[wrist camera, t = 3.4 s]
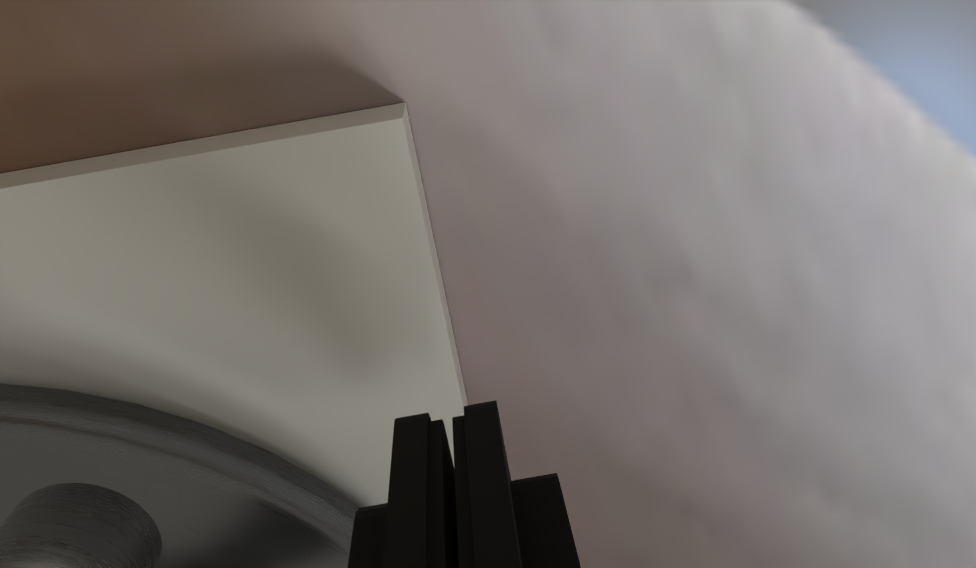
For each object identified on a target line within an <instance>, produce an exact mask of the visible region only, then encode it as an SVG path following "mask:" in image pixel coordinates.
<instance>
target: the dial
mask: <svg viewBox="0 0 976 568" xmlns="http://www.w3.org/2000/svg"><path fill="white" fill-rule="evenodd" d="M358 508H361V507H359V506H358V505H357V504H355V503H354V502H352V501H351V500H350V499H348V498H347V497H345V496H344V495H343V494H341V493H340V492H339V491H337V490H336V489H334V488H333V487H332V486H330V485H329V484H327V483H326V482H324V481H323V480H321V479H319V478H317V477H315V476H314V475H312V474H310V473H308V472H306V471H305V470H303V469H301V468H299V467H297V466H295V465H294V464H292V463H290V462H288V461H286V460H285V459H283V458H281V457H279V456H277V455H276V454H274V453H272V452H270V451H268V450H266V449H263V448H261V447H258V446H256V445H254V444H251V443H249V442H246V441H244V440H242V439H239V438H237V437H235V436H232V435H230V434H227V433H225V432H223V431H220V430H218V429H216V428H213V427H211V426H208V425H206V424H202V423H199V422H196V421H192V420H189V419H186V418H183V417H179V416H176V415H173V414H169V413H166V412H163V411H160V410H156V409H153V408H150V407H146V406H143V405H140V404H136V403H131V402H126V401H121V400H116V399H111V398H105V397H100V396H95V395H90V394H85V393H80V392H75V391H70V390H65V389H55V388H45V387H35V386H24V385H14V384H3V383H0V568H347V567H348V560H349V553H350V546H351V539H352V532H353V524H354V518H355V514H356V511H357V510H358Z"/></svg>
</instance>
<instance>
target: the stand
mask: <svg viewBox="0 0 976 568" xmlns="http://www.w3.org/2000/svg"><path fill="white" fill-rule="evenodd" d="M0 383H3V384H14V385H24V386H35V387H45V388H55V389H65V390H70V391H75V392H80V393H85V394H90V395H95V396H100V397H105V398H111V399H116V400H121V401H126V402H131V403H136V404H140V405H143V406H146V407H150V408H153V409H156V410H160V411H163V412H166V413H169V414H173V415H176V416H179V417H183V418H186V419H189V420H192V421H196V422H199V423H202V424H206V425H208V426H211V427H213V428H216V429H218V430H220V431H223V432H225V433H227V434H230V435H232V436H235V437H237V438H239V439H242V440H244V441H246V442H249V443H251V444H254V445H256V446H258V447H261V448H263V449H266V450H268V451H270V452H272V453H274V454H276V455H277V456H279V457H281V458H283V459H285V460H286V461H288V462H290V463H292V464H294V465H295V466H297V467H299V468H301V469H303V470H305V471H306V472H308V473H310V474H312V475H314V476H315V477H317V478H319V479H321V480H323V481H324V482H326V483H327V484H329V485H330V486H332V487H333V488H334V489H336V490H337V491H339V492H340V493H341V494H343V495H344V496H345V497H347V498H348V499H350V500H351V501H352V502H354V503H355V504H357V505H358V506H359V507H361V508H362V507H367V506H373V505H379V504H384V503H388V492H389V479H390V467H391V455H392V443H393V431H394V421H395V419H396V418H400V417H406V416H411V415H417V414H423V413H429V415H430V418H431V421H434V420H440V419H442V420H443V422H444V426H445V430H446V434H447V439H448V443H449V447H450V452H451V456H452V461H453V465H454V448H453V426H452V418H453V417H457V416H463V415H464V406H468V402H467V397H466V392H465V387H464V382H463V377H462V373H461V368H460V363H459V358H458V353H457V348H456V344H455V339H454V334H453V329H452V324H451V319H450V315H449V310H448V305H447V300H446V295H445V290H444V286H443V281H442V276H441V271H440V266H439V261H438V256H437V252H436V247H435V242H434V237H433V232H432V227H431V223H430V218H429V213H428V208H427V203H426V198H425V194H424V189H423V184H422V179H421V174H420V169H419V165H418V160H417V155H416V150H415V145H414V140H413V136H412V131H411V126H410V121H409V116H408V111H407V107H406V102H404V103H399V104H393V105H387V106H382V107H376V108H370V109H365V110H359V111H353V112H348V113H342V114H336V115H331V116H325V117H319V118H314V119H308V120H302V121H297V122H291V123H285V124H280V125H274V126H268V127H262V128H257V129H251V130H245V131H240V132H234V133H228V134H223V135H217V136H211V137H206V138H200V139H194V140H189V141H183V142H177V143H172V144H166V145H160V146H155V147H149V148H143V149H138V150H132V151H126V152H121V153H115V154H109V155H104V156H98V157H92V158H87V159H81V160H75V161H69V162H64V163H58V164H52V165H47V166H41V167H35V168H30V169H24V170H18V171H13V172H7V173H1V174H0Z"/></svg>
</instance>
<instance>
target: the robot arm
mask: <svg viewBox="0 0 976 568" xmlns="http://www.w3.org/2000/svg"><path fill="white" fill-rule="evenodd" d="M452 426H453V448H454V465H453V461H452V456H451V452H450V447H449V443H448V439H447V434H446V430H445V426H444V422H443V420H442V419H440V420H434V421H431V418H430V415H429V413H423V414H417V415H411V416H406V417H400V418H396V419H395V421H394V431H393V443H392V455H391V467H390V479H389V492H388V503H384V504H379V505H373V506H367V507H362V508H358V510H357V511H356V514H355V518H354V524H353V532H352V539H351V546H350V553H349V560H348V567H347V568H581V567H580V563H579V559H578V555H577V551H576V547H575V543H574V539H573V535H572V531H571V527H570V523H569V519H568V515H567V511H566V507H565V503H564V499H563V495H562V491H561V487H560V483H559V479H558V476H557V473H554V474H548V475H543V476H537V477H531V478H526V479H520V480H514V481H511V478H510V472H509V467H508V461H507V456H506V451H505V445H504V440H503V434H502V429H501V424H500V418H499V413H498V407H497V402H496V401H491V402H485V403H479V404H474V405H468V406H464V415H463V416H457V417H453V418H452Z"/></svg>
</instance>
